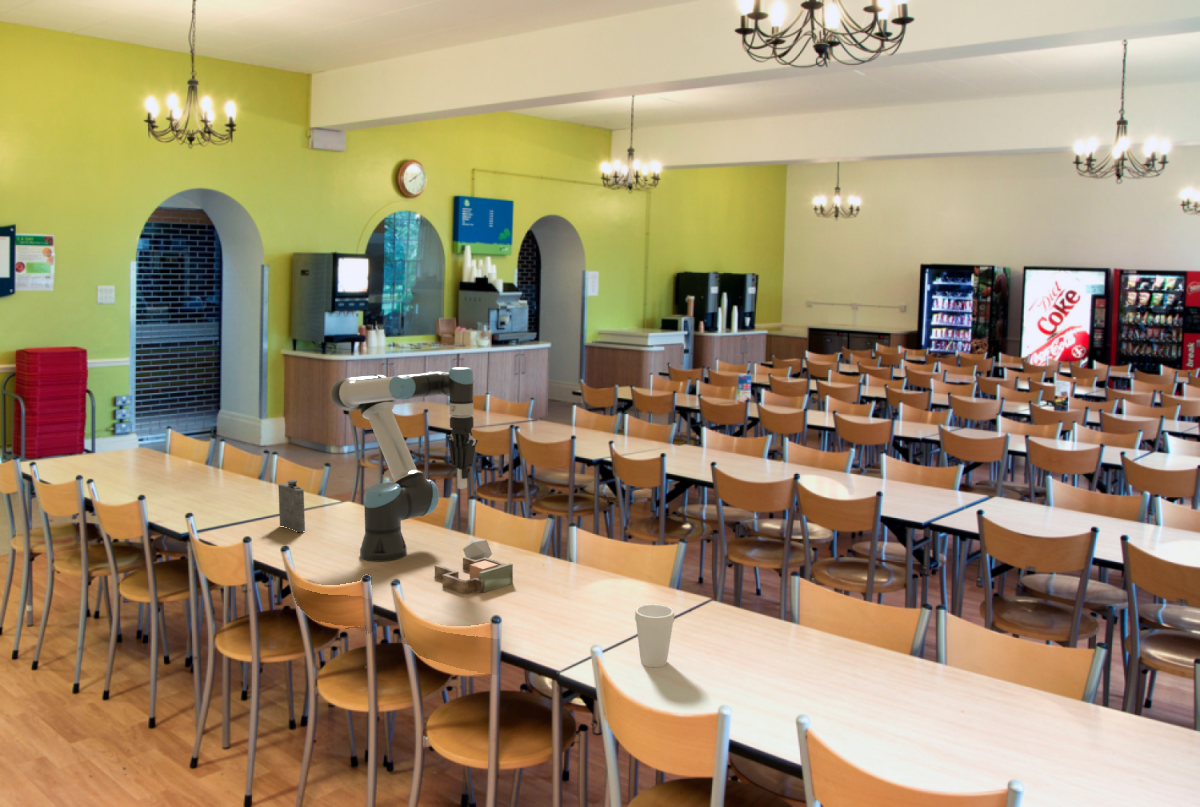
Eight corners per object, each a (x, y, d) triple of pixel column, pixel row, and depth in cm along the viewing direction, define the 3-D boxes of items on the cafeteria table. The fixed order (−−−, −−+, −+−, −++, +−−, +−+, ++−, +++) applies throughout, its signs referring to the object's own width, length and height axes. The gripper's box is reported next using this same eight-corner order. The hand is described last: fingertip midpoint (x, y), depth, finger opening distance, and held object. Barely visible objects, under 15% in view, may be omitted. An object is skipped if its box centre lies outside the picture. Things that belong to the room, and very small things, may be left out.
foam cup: (632, 654, 235) (633, 604, 233) (669, 653, 236) (670, 603, 234) (637, 670, 226) (638, 618, 224) (675, 669, 226) (676, 617, 225)
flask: (287, 524, 351) (285, 476, 348) (308, 531, 341) (307, 482, 339) (278, 526, 348) (276, 478, 346) (299, 533, 339) (297, 484, 336)
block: (469, 583, 287) (469, 564, 286) (484, 579, 291) (484, 560, 291) (483, 588, 283) (483, 569, 282) (498, 583, 288) (498, 564, 287)
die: (496, 563, 309) (487, 536, 313) (491, 557, 301) (482, 530, 305) (472, 572, 309) (464, 545, 312) (467, 567, 301) (458, 539, 304)
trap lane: (424, 579, 290) (424, 560, 289) (475, 564, 305) (475, 546, 304) (471, 596, 276) (471, 576, 275) (522, 580, 291) (522, 561, 290)
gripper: (439, 414, 304) (440, 486, 307) (465, 419, 295) (466, 493, 299) (457, 412, 310) (458, 483, 313) (484, 416, 301) (484, 489, 304)
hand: (462, 487), depth 306 cm, fingers closed
